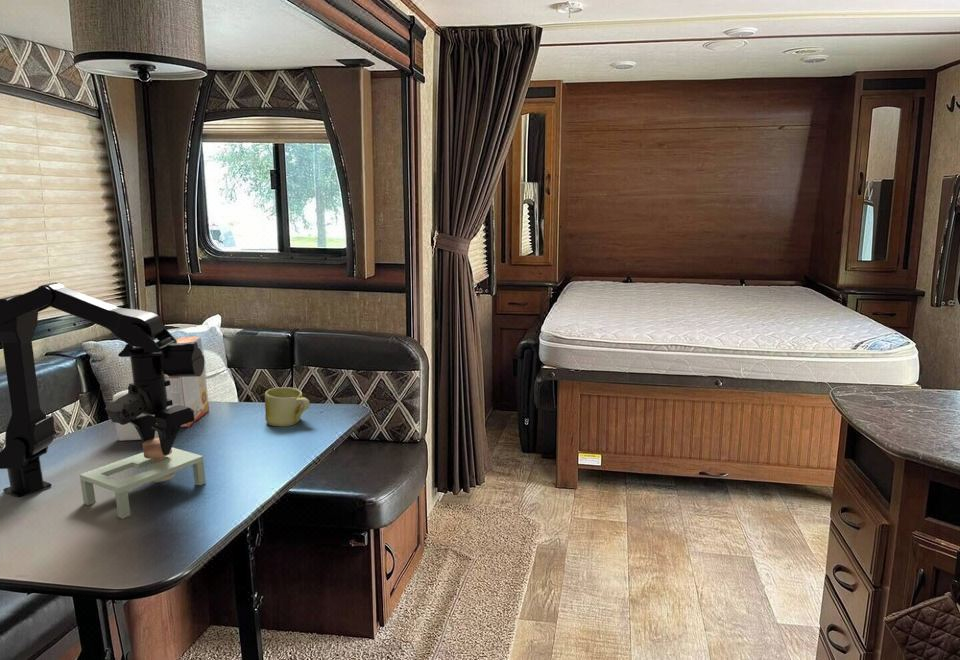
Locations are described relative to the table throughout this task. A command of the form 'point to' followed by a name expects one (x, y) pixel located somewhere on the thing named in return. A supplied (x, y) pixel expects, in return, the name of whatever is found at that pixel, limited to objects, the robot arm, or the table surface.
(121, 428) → the photo printer
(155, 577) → the table surface
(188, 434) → the table surface
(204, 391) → the cracker box
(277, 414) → the mug
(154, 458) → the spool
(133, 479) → the keyhole board
